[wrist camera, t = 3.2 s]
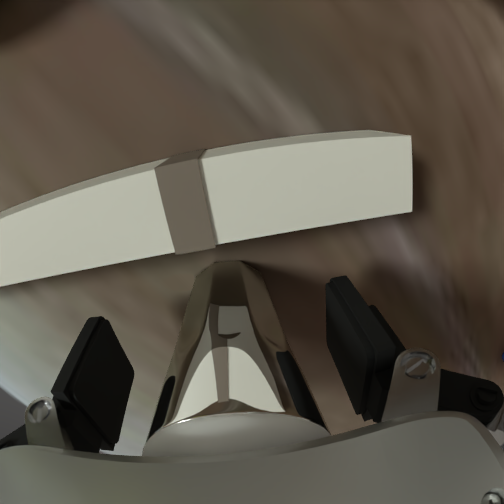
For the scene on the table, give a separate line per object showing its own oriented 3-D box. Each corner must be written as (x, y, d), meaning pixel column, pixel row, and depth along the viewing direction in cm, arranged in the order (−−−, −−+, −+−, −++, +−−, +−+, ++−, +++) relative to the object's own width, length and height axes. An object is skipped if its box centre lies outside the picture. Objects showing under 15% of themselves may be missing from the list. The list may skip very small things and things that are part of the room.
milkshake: (150, 249, 12) (54, 495, 3) (282, 240, 12) (388, 491, 3) (168, 336, 14) (140, 544, 5) (280, 329, 14) (333, 537, 5)
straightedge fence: (369, 128, 10) (412, 134, 8) (373, 191, 12) (413, 213, 9) (-72, 247, 10) (-100, 268, 7) (-58, 282, 11) (-84, 306, 8)
